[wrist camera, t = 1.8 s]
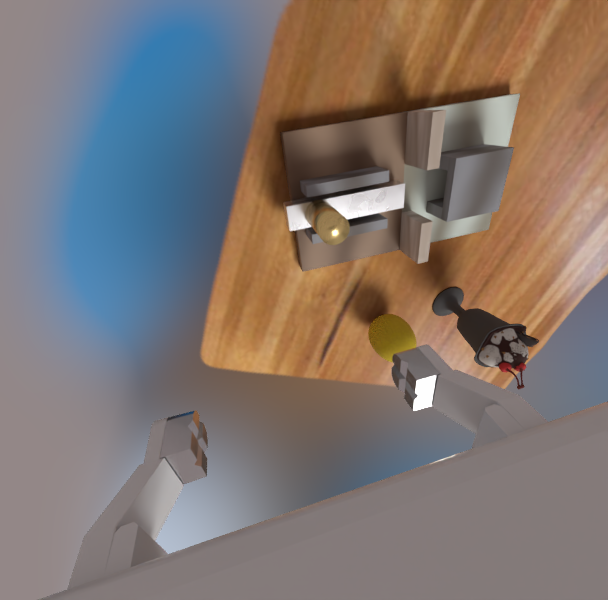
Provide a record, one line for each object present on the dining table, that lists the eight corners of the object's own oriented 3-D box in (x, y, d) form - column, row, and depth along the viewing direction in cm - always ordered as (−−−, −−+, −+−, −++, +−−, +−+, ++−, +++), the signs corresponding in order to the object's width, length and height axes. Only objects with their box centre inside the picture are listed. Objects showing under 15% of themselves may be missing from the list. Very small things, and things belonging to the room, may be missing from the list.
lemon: (356, 312, 40) (383, 350, 34) (393, 297, 41) (427, 333, 34) (363, 340, 44) (388, 380, 37) (397, 326, 44) (428, 364, 37)
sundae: (421, 322, 44) (498, 402, 32) (435, 282, 41) (527, 355, 29) (458, 319, 46) (545, 394, 34) (474, 281, 43) (578, 349, 30)
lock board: (300, 267, 35) (311, 288, 31) (280, 132, 27) (291, 135, 23) (481, 226, 38) (514, 240, 34) (510, 94, 30) (558, 91, 26)
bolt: (286, 226, 30) (301, 252, 25) (282, 201, 29) (297, 222, 23) (395, 204, 32) (432, 223, 26) (396, 178, 30) (435, 193, 25)
